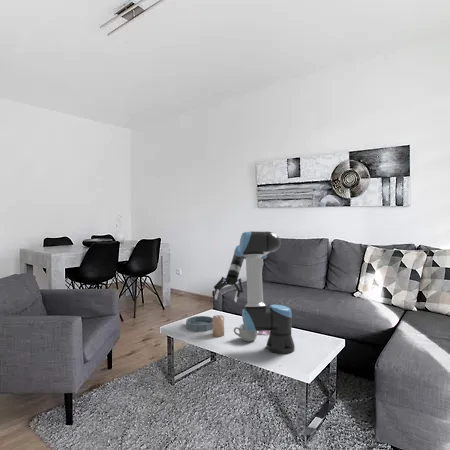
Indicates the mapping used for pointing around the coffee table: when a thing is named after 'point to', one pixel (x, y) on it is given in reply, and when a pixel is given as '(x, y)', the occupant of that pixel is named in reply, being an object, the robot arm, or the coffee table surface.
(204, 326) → the bowl
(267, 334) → the lily
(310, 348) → the coffee table surface
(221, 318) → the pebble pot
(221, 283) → the robot arm
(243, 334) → the teacup
